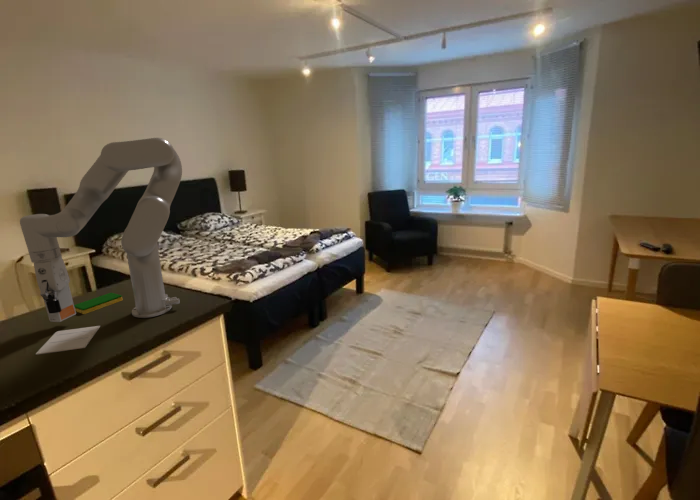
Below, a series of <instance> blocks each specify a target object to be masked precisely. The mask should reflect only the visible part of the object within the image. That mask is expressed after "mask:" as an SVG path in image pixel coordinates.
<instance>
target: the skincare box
mask: <svg viewBox="0 0 700 500" xmlns="http://www.w3.org/2000/svg"><path fill="white" fill-rule="evenodd" d="M48 291H53V290H52V289H51V288H50V289H48ZM49 295H51V296H53V293H51V294H49ZM57 300H59V303H60V307H61V310H62V311H61V312H57V313H49V311H48V308H47V305H46V302H45V300H44V299H43V302H44V307H45V310H46V313H47V317H48V320H49V321H50V322H55V323H61V322H63V321H65V320H67V319H69V318H71V317H73V316H76V314H77V312H76V311H75V307H74V305H75V304H74V300H73V296H72V292H71V289H70V284H69V283H68V281H66V286H65V287H64V288H63V289H62V290H60V291H58V292H57Z"/></svg>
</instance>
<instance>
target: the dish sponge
mask: <svg viewBox="0 0 700 500" xmlns="http://www.w3.org/2000/svg"><path fill="white" fill-rule="evenodd" d="M121 301H123V295H122V294H117V293H115V292H109V293H106V294H103V295H99V296H97V297H93V298H92V299H88V300H84V301H82V302H79V303H76V304H74V307H75V311H76V313H79V314H82V315H86V314H89V313H91V312H94V311H95V312H96V311H97V310H100V309H102V308H105V307H108V306H111V305H113V304H116V303H119V302H121Z"/></svg>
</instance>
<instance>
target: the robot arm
mask: <svg viewBox="0 0 700 500" xmlns="http://www.w3.org/2000/svg"><path fill="white" fill-rule="evenodd" d="M151 168H153V171H152V175H151V177H150V180H149V182H148V185H147V186H146V189H145V191H144V192H143V194H142V196H141V197H140V198H139V200H138V202H137V204H136V207H135V209H134V210H133V213H132V215H131V217H130V219H129V222H128V224H127V226H126V228H125V229H124V231H123V234H122V236H121V241H120V243H121V248H122V249H123V251H124V252H125V253H126V256H127V264H128V269H129V270H128V271H129V276H130V281H131V286H132V291H133V297H134V304H135V307H133V308H132V310H131V315H132V316H133V317H135V318H141V319H146V318H147V319H149V318H153V317H158V316H160V315H164V314H166V313H168V312H169V311H171V310H172V308H173V305H180V298H179V297H178V298H177V296H174V297H170V296H168V293H166V291H165V286H164V280H163V279H164V278H163V273H162V265H161V264H162V263H161V260H160V259H161V258H160V252H159V245H158V241H159V239H160V237H161V236H162V234H163V231H164V229H165V226H166V225H167V222H168V220H169V217H170V214H171V210H170V209H171V205H172V202H173V200H174V198H175V196H176V193H177V191H178V189H179V186H180V183H181V179H182V176H183V166H182V162H181V159H180V156H179V154H178V152H177V151H176V150H175V148H174V147H173V145H172V144H171V142H169V141H168V140H167V139H165V138H163V137H150V138H144V139H135V140H134V139H133V140H127V141H126V140H125V141H113V142H109V143H107V144H106V145H104V146H103V148H102V149H101V152H100V154H99V156H98V157H97V158H96V160H95V162H94V163H93V164H92V165H91V166H90V167H89V169H88V170H87V171H86V173H85V174H84V175H83V176H82V177H81V179H80V181H79V185H78V189H77V190H76V192H75V194H74V195H73V196H72V198H71V199H70V200H69V201H68V203H67V204H66V205H65V206H64V208H63V209H62V210H61V211H59V212H58V213H55V214H46V213H36V214H29V215H25V216H22V217H21V218H19V224H20V228H21V232H22V234H23V238H24V242H25V245H26V248H27V251H28V255H29V259H30V261H31V263H33V267H34V274H35V278H36V282H37V286H38V289H39V291H40V297H42V299H43V301H44V300H45V302H46V305H47V308H48V311H49V313H57V312H61V311H62V310H61V307H60V303H59V300H57V292H58V291H60V290H62V289H63V288H64V287H65V286H66V281H68V284H69V283H70V282H71V279H70V276H69V272H68V270H67V267H66V263H65V262H64V261H65V260H64V259H63V256H62V253H61V248H60V245H59V242H58V238H70V237H73V236H76V235H78V234H79V233H80V231H81V230H83V229H84V227H85V226H86V225H87V223H88V222H89V221H90V220H91V218H92V217H93V216H94V215H95V213H96V212H97V211H98V209H99V208H100V206H101V205H102V204H103V203H104V202H105V201H106V200H108V198H109V197H110V195H111V194H112V193H113V191H114V190H115V189H116V188H117V187H118V185H119V184H120V183H121V181H122V180H123V179H124V177H125V176H126V175H127V174H128V172H129V171H136V170H145V169H151ZM50 288H51V289H52V290H53V291H48V289H50ZM51 293H53V296H51V295H49V294H51Z"/></svg>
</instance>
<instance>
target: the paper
mask: <svg viewBox="0 0 700 500" xmlns="http://www.w3.org/2000/svg"><path fill="white" fill-rule="evenodd" d="M100 328H101V325H96V326H95V325H94V326H87V327H80V328H72V329H64V330H58V331H56V332H54V333H53V334H52V336H51V337H50V338H49V339H48V340H47V341H46V342H45V343H44V344H43V345H42V346H41V347H40V348H39V349H38V350H37V352H36V353H35V356H36V355H37V356H38V355H45V354H51V353H57V352H65V351H70V350H71V351H72V350H77V349H80V350H81V349H85V348H86V347H87V346H88V345H89V343H90V341H91V340H92V338H93V337H94V336H95V335H96V333H97V332H98V330H99V329H100Z"/></svg>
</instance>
